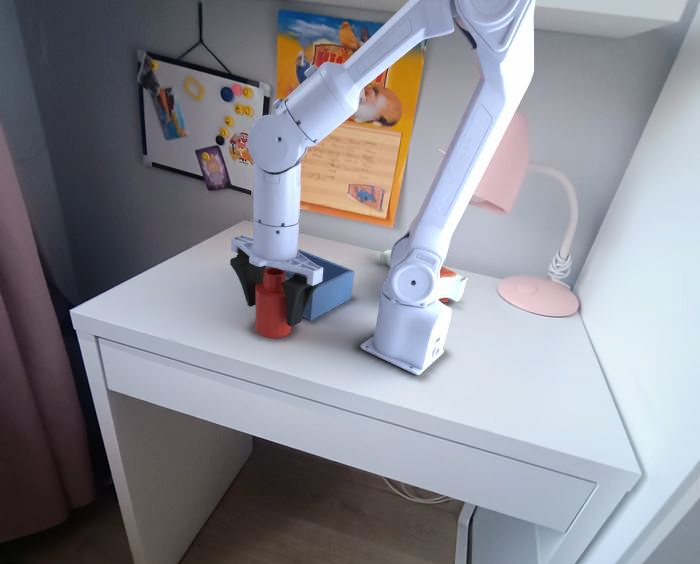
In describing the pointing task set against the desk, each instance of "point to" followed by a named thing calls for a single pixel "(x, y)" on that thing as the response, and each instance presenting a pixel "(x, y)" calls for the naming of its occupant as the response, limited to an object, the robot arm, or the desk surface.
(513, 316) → the desk surface
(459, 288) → the tape dispenser
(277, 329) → the bottle
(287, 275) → the tub
